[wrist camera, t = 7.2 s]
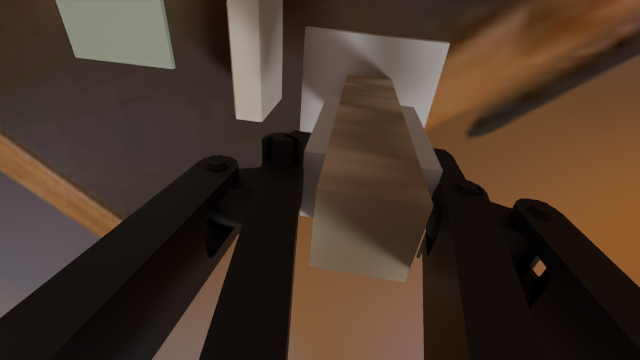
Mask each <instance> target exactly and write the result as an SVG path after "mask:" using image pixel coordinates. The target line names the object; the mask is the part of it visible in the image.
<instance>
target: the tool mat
mask: <svg viewBox="0 0 640 360" xmlns="http://www.w3.org/2000/svg"><path fill="white" fill-rule="evenodd" d="M56 3H57V6H58V9H59V11H60V14H61V17H62V20H63V23H64V26H65V28H66V31H67V34H68V37H69V40H70V43H71V45H72V48H73V51H74V54H75V57H78V58H86V59H94V60H102V61H110V62H119V63H127V64H135V65H143V66H151V67H160V68H168V69H174V68H175V62H174V57H173V51H172V46H171V40H170V35H169V29H168V24H167V18H166V12H165V7H164V1H163V0H56Z"/></svg>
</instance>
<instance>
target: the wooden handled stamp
mask: <svg viewBox="0 0 640 360" xmlns="http://www.w3.org/2000/svg"><path fill="white" fill-rule="evenodd" d="M449 45H450V43H448V42H444V41H435V40H426V39H417V38H408V37H399V36H390V35H381V34H371V33H362V32H353V31H344V30H335V29H326V28H317V27H306V28H305V43H304V63H303V82H302V101H301V121H300V131H303V132H311V133H312V131H313V128H314V126H315V124H316V121H317V119H318V116H319V114H320V112H321V109H322V107H323V104H324V102H325V100H326V97H327V96H330V97H338V98H341V99H340V102H339V106H338V110H337V114H336V117H335V121H334V125H333V129H332V132H331V136H330V140H329V144H328V148H327V151H326V155H325V159H324V163H323V166H322V170H321V174H320V178H319V181H318V185H317V190H316V200H315V211H314V222H313V231H312V243H311V253H310V262H309V266H310V267H316V268H322V269H328V270H335V271H340V272H346V273H352V274H358V275H364V276H370V277H375V278H381V279H387V280H393V281H399V282H405V280H406V277H407V274H408V272H409V269H410V267H411V264H412V261H413V259H414V256H415V253H416V251H417V248H418V245H419V243H420V240H421V238H422V235H423V232H424V229H425V227H426V224H427V222H428V219H429V217H430V214H431V211H432V209H433V203H432V200H431V197H430V194H429V191H428V188H427V185H426V182H425V178H424V175H423V172H422V169H421V166H420V163H419V160H418V157H417V154H416V151H415V148H414V145H413V142H412V139H411V136H410V133H409V130H408V127H407V124H406V121H405V118H404V115H403V112H402V109H401V106H400V105H402V106H410V107H414V108H415V110H416V113H417V115H418V117H419V119H420V121H421V124H422V126H423V128H425V125H426V121H427V118H428V115H429V111H430V108H431V105H432V101H433V98H434V95H435V91H436V88H437V85H438V82H439V78H440V75H441V72H442V68H443V65H444V62H445V58H446V55H447V52H448V48H449Z"/></svg>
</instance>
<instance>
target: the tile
mask: <svg viewBox="0 0 640 360" xmlns="http://www.w3.org/2000/svg"><path fill="white" fill-rule="evenodd" d="M226 7H227V19H228V32H229V45H230V57H231V70H232V83H233V96H234V108H235V112H236V119H241V120H249V121H257V122H262V121H263V120H264V119H265V118H266V116H267V115H268V114H269V113H270V112H271V110H272V109H273V108H274V107H275V106H276V104H277V103H278V102H279V101H280V100H281V98H282V34H283V0H227V2H226Z"/></svg>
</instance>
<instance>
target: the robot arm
mask: <svg viewBox="0 0 640 360" xmlns="http://www.w3.org/2000/svg"><path fill="white" fill-rule="evenodd" d="M340 99H341V98H338V97H330V96H327V97H326V100H325V102H324V104H323V107H322V109H321V112H320V114H319V116H318V119H317V121H316V124H315V126H314V128H313V131H312V133H311V132H303V131H296V130H294V131H292V132H291V133H272V134H268V135H266V136H264V138H263V139H262V161H263V162H262V165H261V167H257V168H246V169H239V167H238V162H237V161H236V160H235V159H234V158H231V157H228V156H222V155H217V156H216V155H215V156H211V157H207V158H204V159H202V160H201V161H199V162H197V163H196V164H195V165H194V166H192V167H191V168H190V169H189V170H187V171H186V172H185V173H184V174H182V175H181V176H180V177H178V178H177V179H176V180H175V181H173V182H172V183H171V184H170V185H168V186H167V187H166V188H165V189H163V190H162V191H161V192H159V193H158V194H157V195H156V196H154V197H153V198H152V199H151V200H149V201H148V202H147V203H146V204H144V205H143V206H142V207H140V208H139V209H138V210H137V211H135V212H134V213H133V214H132V215H130V216H129V217H128V218H127V219H125V220H124V221H123V222H121V223H120V224H119V225H118V226H116V227H115V228H114V229H113V230H111V231H110V232H109V233H108V234H106V235H105V236H104V237H102V238H101V239H100V240H99V241H97V242H96V243H95V244H94V245H92V246H91V247H90V248H89V249H87V250H86V251H85V252H83V253H82V254H81V255H80V256H79V257H77V258H76V259H75V260H73V261H72V262H71V263H70V264H68V265H67V266H66V267H64V268H63V269H62V270H61V271H59V272H58V273H57V274H56V275H54V276H53V277H52V278H51V279H49V280H48V281H47V282H46V283H44V284H43V285H42V286H40V287H39V288H38V289H37V290H35V291H34V292H33V293H32V294H30V295H29V296H28V297H27V298H25V299H24V300H23V301H21V302H20V303H19V304H18V305H16V306H15V307H14V308H13V309H11V310H10V311H9V312H7V313H6V314H5V315H4V316H3V317H1V318H0V360H152V359H153V357H154V356H155V354H156V353H157V351H158V350H159V349H160V347H161V346H162V344H163V343H164V341H165V340H166V338H167V337H168V336H169V334H170V333H171V331H172V330H173V328H174V327H175V325H176V324H177V322H178V321H179V320H180V318H181V317H182V315H183V314H184V312H185V311H186V309H187V308H188V307H189V305H190V304H191V302H192V301H193V299H194V298H195V296H196V295H197V294H198V292H199V291H200V289H201V288H202V286H203V285H204V283H205V282H206V280H207V279H208V277H209V276H210V275H211V273H212V272H213V270H214V269H215V267H216V266H217V265H218V263H219V262H220V260H221V259H222V257H223V256H224V254H225V253H226V252H227V250H228V249H229V247H230V246H231V244H232V243H233V241H234V240H235V238H236V237H237V236H238V234H239V237H238V240H237V243H236V246H235V249H234V252H233V255H232V259H231V261H230V265H229V268H228V271H227V274H226V277H225V280H224V283H223V287H222V290H221V293H220V296H219V299H218V302H217V305H216V309H215V311H214V315H213V318H212V321H211V324H210V327H209V330H208V333H207V336H206V340H205V343H204V346H203V349H202V352H201V355H200V358H199V360H287V359H288V347H289V333H290V321H291V308H292V294H293V281H294V268H295V254H296V242H297V229H298V214H299V209H300V215H301V216H307V217H313V218H314V211H315V200H316V190H317V185H318V181H319V178H320V174H321V170H322V166H323V163H324V159H325V155H326V151H327V148H328V144H329V140H330V136H331V132H332V129H333V125H334V121H335V117H336V114H337V110H338V106H339V102H340ZM400 106H401V109H402V112H403V115H404V118H405V121H406V124H407V127H408V130H409V133H410V136H411V139H412V142H413V145H414V148H415V151H416V154H417V157H418V160H419V163H420V166H421V169H422V172H423V175H424V178H425V182H426V185H427V188H428V191H429V194H430V197H431V200H432V203H433V209H432V211H431V214H430V217H429V219H428V222H427V224H426V227H425V228H426V233H425V235H424V238H423V241H422V243H421V246H420V248H419V251H418V254H417V258H420V255H421V254H422V262H423V323H424V360H640V287H639V286H638V285H636V284H635V283H634V282H633V281H632V280H631V279H630V278H629V277H628V276H627V275H626V274H625V273H624V272H623V271H622V270H621V269H620V268H619V267H617V265H615V264H614V263H613V262H612V261H611V260H610V259H609V258H608V257H607V256H606V255H605V254H604V253H603V252H602V251H601V250H600V249H599V248H598V247H596V246H595V245H594V244H593V243H592V242H591V241H590V240H589V239H588V238H587V237H586V236H585V235H584V234H583V233H582V232H581V231H580V230H579V229H578V228H576V227H575V226H574V225H573V224H572V223H571V222H570V221H569V220H568V219H567V218H566V217H565V216H564V215H563V214H562V213H560V212H559V211H557V210H556V209H555V208H553V207H551V206H550V205H548V204H547V203H545V202H541V201H539V200H532V199H519V200H517V201H516V202H515V204H514V206H513V208H508V207H505V206H502V205H499V204H496V203H493V202H490V200H489V197H488V195H487V193H486V191H485V190H484V189H483V188H482V187H480V186H479V185H477V184H475V183H473V182H471V181H468V180H466V179H465V177H464V175H463V174H462V172H461V170H460V169H459V167H458V165H457V163H456V161H455V159H454V158H453V156H452V155H451V154H449V153H448V152H447V151H446V150H442V149H435V148H432V146H431V143H430V141H429V139H428V137H427V135H426V132H425V130H424V128H423V126H422V124H421V121H420V119H419V117H418V115H417V113H416V110H415V108H414V107H410V106H402V105H400ZM539 260H541V261H542V262H543V263H544V265H545V266H546V270H545V271H544V272H543V273H542V275H541V276H538V275H536V273H535V272H534V271H533V268H534V267H535V266H536V264H537V263H538V262H539Z"/></svg>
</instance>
